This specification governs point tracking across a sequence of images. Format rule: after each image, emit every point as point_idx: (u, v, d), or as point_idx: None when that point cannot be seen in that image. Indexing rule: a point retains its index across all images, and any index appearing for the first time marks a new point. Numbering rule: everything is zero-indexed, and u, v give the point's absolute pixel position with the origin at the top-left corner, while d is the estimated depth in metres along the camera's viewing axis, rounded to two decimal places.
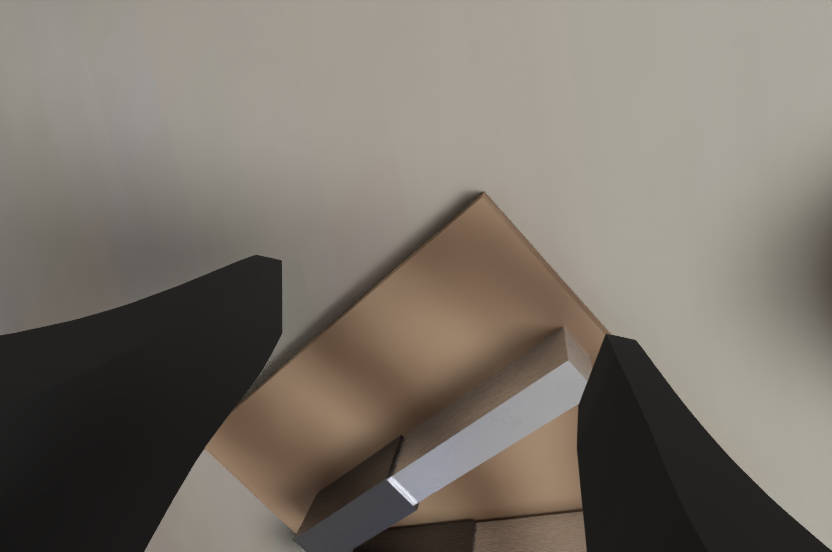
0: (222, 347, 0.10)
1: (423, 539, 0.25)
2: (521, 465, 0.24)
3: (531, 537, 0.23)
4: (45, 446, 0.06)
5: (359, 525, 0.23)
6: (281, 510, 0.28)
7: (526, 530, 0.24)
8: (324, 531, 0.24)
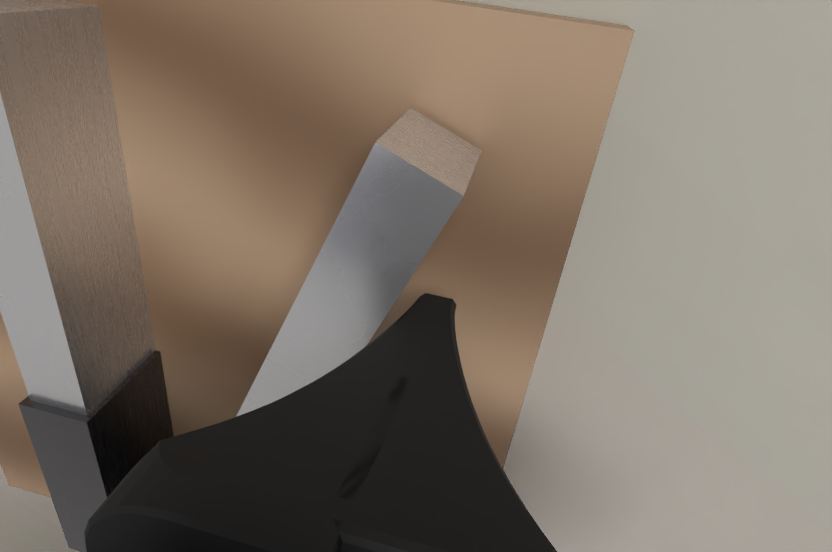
0: None
1: None
2: (232, 268, 0.14)
3: None
4: None
5: (80, 487, 0.15)
6: None
7: None
8: (71, 517, 0.16)
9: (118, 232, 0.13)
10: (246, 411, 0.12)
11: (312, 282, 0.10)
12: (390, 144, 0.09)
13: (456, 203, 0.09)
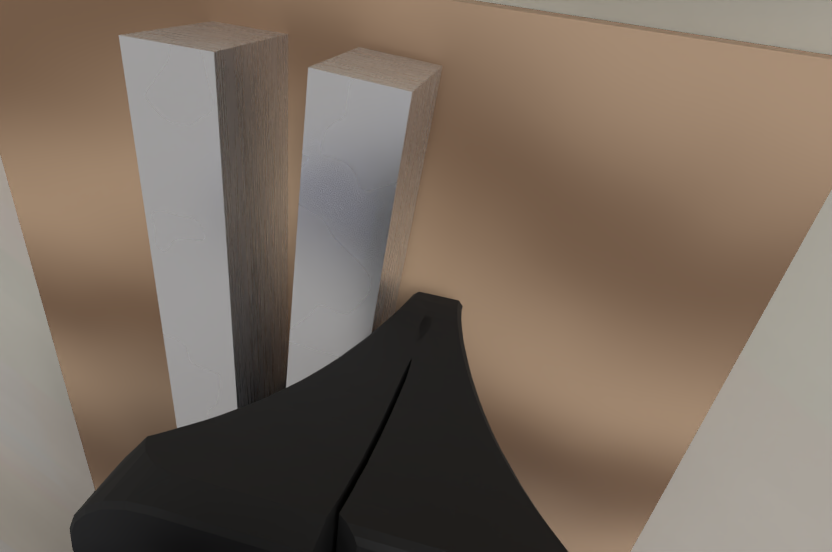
0: None
1: None
2: None
3: None
4: None
5: None
6: None
7: None
8: None
9: (277, 266, 0.12)
10: None
11: (303, 243, 0.09)
12: (326, 67, 0.08)
13: (408, 103, 0.08)
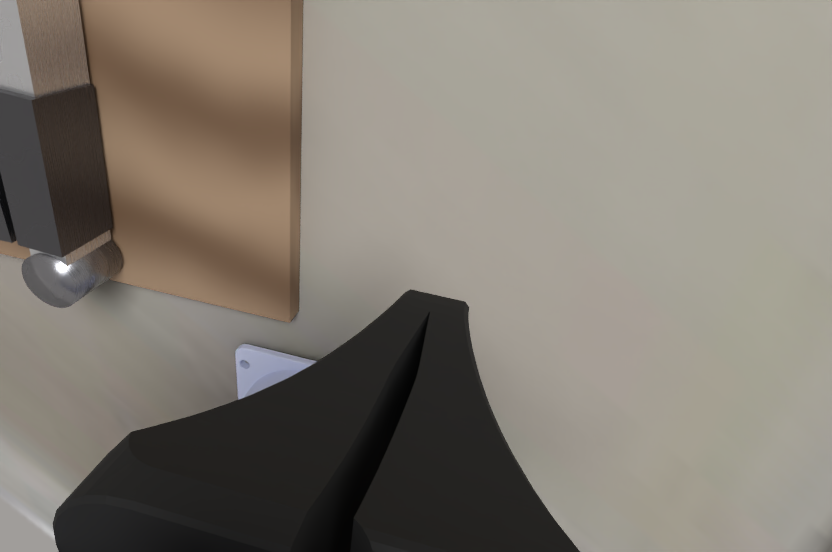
0: (402, 391, 0.10)
1: None
2: None
3: None
4: (328, 527, 0.06)
5: None
6: None
7: None
8: None
9: None
10: None
11: None
12: None
13: None
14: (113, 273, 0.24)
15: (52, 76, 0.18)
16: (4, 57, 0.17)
